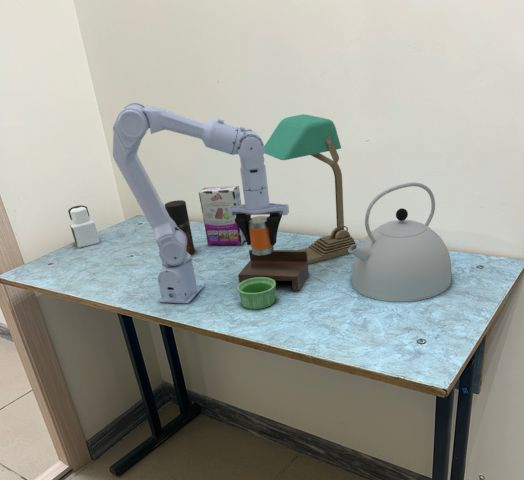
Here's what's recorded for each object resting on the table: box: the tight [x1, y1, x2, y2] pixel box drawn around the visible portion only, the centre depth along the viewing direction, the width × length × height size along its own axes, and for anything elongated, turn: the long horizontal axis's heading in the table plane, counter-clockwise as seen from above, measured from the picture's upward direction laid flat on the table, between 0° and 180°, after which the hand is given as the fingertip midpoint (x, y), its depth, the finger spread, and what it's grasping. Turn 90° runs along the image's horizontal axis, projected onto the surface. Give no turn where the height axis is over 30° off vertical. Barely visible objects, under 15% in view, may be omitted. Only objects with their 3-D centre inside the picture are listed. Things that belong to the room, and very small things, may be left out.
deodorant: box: [164, 199, 196, 256], centre depth 157 cm, size 6×6×15 cm
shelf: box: [237, 249, 310, 293], centre depth 134 cm, size 10×15×6 cm, turn 71°
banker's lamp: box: [264, 113, 357, 265], centre depth 139 cm, size 16×21×35 cm
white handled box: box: [67, 204, 101, 249], centre depth 177 cm, size 7×7×12 cm
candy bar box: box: [198, 185, 246, 246], centre depth 160 cm, size 11×5×16 cm, turn 73°
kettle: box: [348, 181, 452, 303], centre depth 122 cm, size 25×23×23 cm
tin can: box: [248, 215, 275, 256], centre depth 130 cm, size 6×6×8 cm
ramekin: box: [236, 277, 277, 310], centre depth 126 cm, size 9×9×4 cm
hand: (262, 243), depth 131 cm, fingers closed on tin can, 5 cm apart
